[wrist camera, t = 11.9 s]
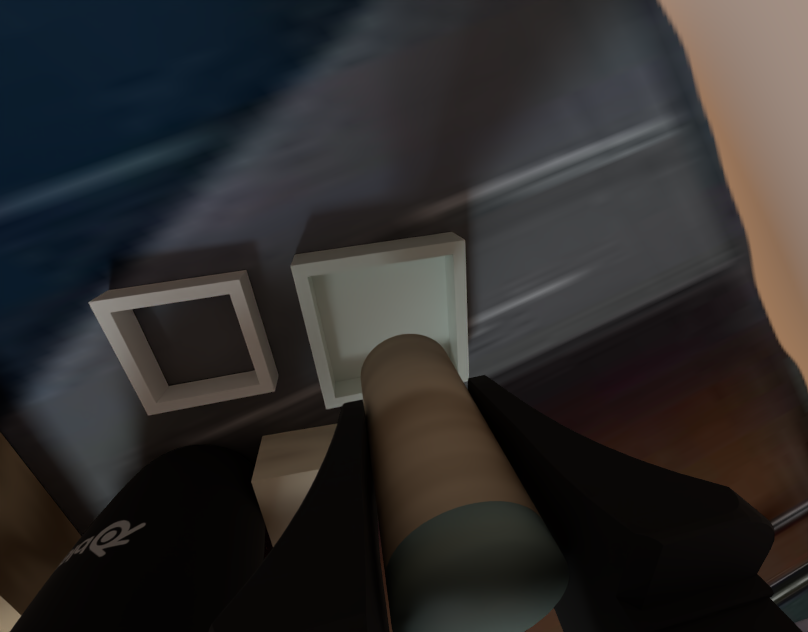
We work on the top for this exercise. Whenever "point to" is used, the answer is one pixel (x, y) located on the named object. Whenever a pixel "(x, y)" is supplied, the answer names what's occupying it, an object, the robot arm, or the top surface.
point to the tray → (381, 304)
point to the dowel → (450, 502)
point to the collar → (142, 363)
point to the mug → (159, 551)
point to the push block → (287, 473)
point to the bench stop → (27, 536)
